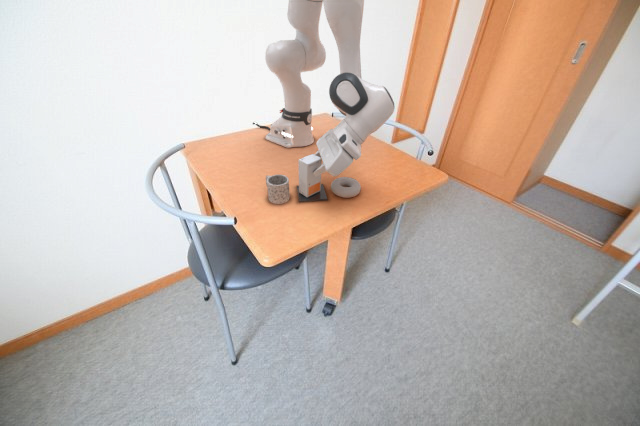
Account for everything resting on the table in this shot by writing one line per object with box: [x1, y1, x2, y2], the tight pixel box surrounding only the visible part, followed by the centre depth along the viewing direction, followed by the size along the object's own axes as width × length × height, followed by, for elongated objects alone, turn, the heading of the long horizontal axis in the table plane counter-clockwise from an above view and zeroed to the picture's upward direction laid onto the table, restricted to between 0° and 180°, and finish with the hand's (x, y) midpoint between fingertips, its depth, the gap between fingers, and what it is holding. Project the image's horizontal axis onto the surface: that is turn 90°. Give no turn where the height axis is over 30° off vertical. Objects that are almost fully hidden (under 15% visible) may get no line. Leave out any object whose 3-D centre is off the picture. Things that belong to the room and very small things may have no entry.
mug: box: [265, 174, 291, 205], centre depth 85 cm, size 10×7×7 cm, turn 41°
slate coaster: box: [296, 183, 328, 203], centre depth 89 cm, size 9×9×1 cm
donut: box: [330, 176, 362, 199], centre depth 90 cm, size 10×3×10 cm
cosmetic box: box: [297, 153, 323, 197], centre depth 84 cm, size 6×4×12 cm
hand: (313, 169), depth 84 cm, fingers closed on cosmetic box, 5 cm apart
